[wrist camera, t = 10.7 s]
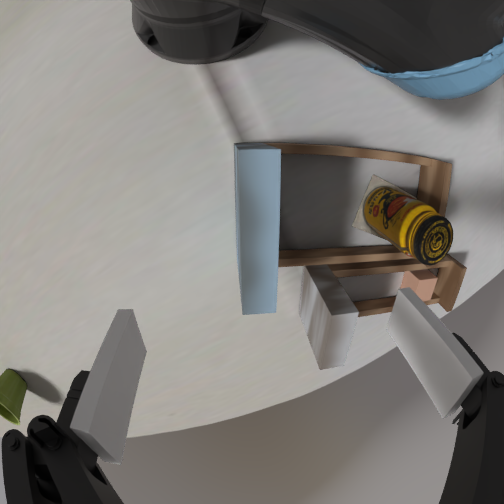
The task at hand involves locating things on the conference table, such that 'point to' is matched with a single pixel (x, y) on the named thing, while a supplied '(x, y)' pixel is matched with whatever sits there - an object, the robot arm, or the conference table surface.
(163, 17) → the robot arm
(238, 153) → the wooden shelf
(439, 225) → the condiment
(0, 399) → the plant pot
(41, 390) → the conference table surface
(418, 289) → the clay block
